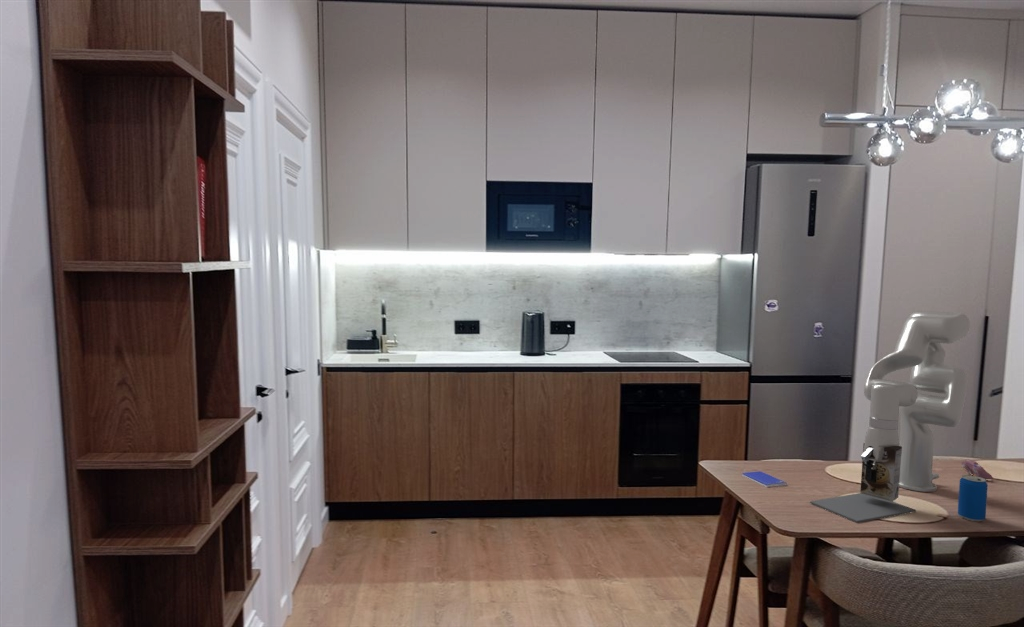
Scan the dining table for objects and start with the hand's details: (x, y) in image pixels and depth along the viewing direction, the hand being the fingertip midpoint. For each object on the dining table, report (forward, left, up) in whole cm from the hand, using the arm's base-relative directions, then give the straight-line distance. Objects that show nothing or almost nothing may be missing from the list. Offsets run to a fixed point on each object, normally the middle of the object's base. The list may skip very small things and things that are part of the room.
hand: (880, 479), depth 186 cm
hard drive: (+17, -30, -9) cm, 35 cm away
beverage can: (-16, +17, -8) cm, 25 cm away
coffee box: (0, 0, -5) cm, 5 cm away
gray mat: (+7, 0, -8) cm, 11 cm away
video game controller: (-60, -7, -8) cm, 61 cm away
